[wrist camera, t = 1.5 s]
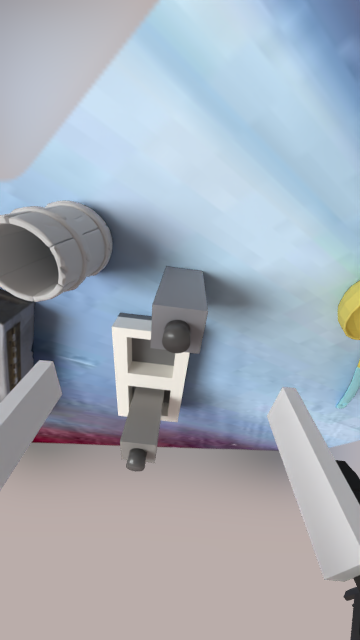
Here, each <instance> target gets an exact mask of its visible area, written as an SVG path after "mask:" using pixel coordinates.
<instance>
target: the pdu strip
mask: <svg viewBox="0 0 360 640" xmlns="http://www.w3.org/2000/svg"><path fill="white" fill-rule="evenodd" d="M151 325H152V317H151V316H143V315H134V314H126V313H120V314H119V316H118V317H117V319H116V321H115V322H114V324H113V325H112V337H113V350H114V363H115V377H116V390H117V403H118V416H128V413H129V409H130V406H131V402H132V399H133V395H134V392H135V389H136V387H145V388H154V389H162V390H165V391H164V400H163V407H162V415H161V420H163V421H171V422H178V416H179V411H180V405H181V399H182V394H183V388H184V382H185V377H186V371H187V365H188V359H189V354H190V353H188V352H183V353H171V352H169V351H167V350H162V349H154V348H150V347H151Z"/></svg>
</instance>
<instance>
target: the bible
mask: <svg viewBox="0 0 360 640" xmlns="http://www.w3.org/2000/svg"><path fill="white" fill-rule="evenodd" d="M34 305H35V302H34V301H27V300H24V299H21V298H18V297H16V296H14V295H12V294H11V293H9V292H7V291H4V290H1V289H0V403H1V402H2V401H3V399H4V398H5V397H6V396H7V395H8V394H9V393H10V392H11V391H12V390H13V388H14V387H15V386H16V385H17V384H18V383H19V382H20V381H21V380H22V379H23V378H24V376H25V375H26V374H27V373H28V372H29V371H30V370H31V369H32V368H33V363H34V362H33V358H32V356H33V352H31V348H32V343H33V337H34Z"/></svg>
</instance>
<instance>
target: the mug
mask: <svg viewBox="0 0 360 640" xmlns="http://www.w3.org/2000/svg"><path fill="white" fill-rule="evenodd" d="M105 225H106V223H105V221H104V220H103V219H102V218H101V217H100V216H99V215H98V214H97V213H96V212H95V211H93V210H92V209H90V208H89V207H87V206H85V205H83V204H80V203H76V202H72V201H57V202H53V203H49V204H48V205H47V206H46V207H45V208H44V207H38V206H31V207H23V208H19V209H14V210H13V211H12V212H11V213H10V214H5V215H0V287H2V288H3V289H5V290H6V291H8V292H9V293H11V294H12V295H14V296H16V297H18V298H21V299H24V300H27V301H35V302H39V301H45V300H49V299H52V298H54V297H56V296H58V295H60V294H61V293H63V292H65V291H70V290H74V289H76V288H77V287H78V286H79V285H80V284H81V283H82V282H83V281H84V280H85V278H86V277H89V276H94V275H96V274H98V273H99V272H100V271H101V270H103V269H104V268H105V266H106V265H107V264H108V262H109V260H110V257H111V253H112V246H113V241H112V236H111V233H110V230H109V228H108V226H105Z"/></svg>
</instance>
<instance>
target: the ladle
mask: <svg viewBox="0 0 360 640" xmlns="http://www.w3.org/2000/svg"><path fill="white" fill-rule="evenodd" d="M338 322H339V324H340V326H341V327H342V329H343V331H344V333H345V334H346V336H348V337H350V338H351V339H355V340H360V281H358V282H356V283H355V284H354V285H353V286H351V287H350V288H349V289H348V290H347V291H346V292H345V294H344V296H343V298H342V300H341V301H340V303H339V305H338ZM359 387H360V360H359V363H358V366H357V367H356V370H355V373H354V376H353V378H352V381H351V383H350V385H349V387H348V389H347V391H346V393H345V395H344V396H343V398H342V399H341V400H340V402H339V403H338V404H337V406H336V408H345V407H346V406H347V404H348V403H349V402H350V401H351V400H352V398H353V397H354V396H355V394H356V392H357V390H358V389H359Z"/></svg>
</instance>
